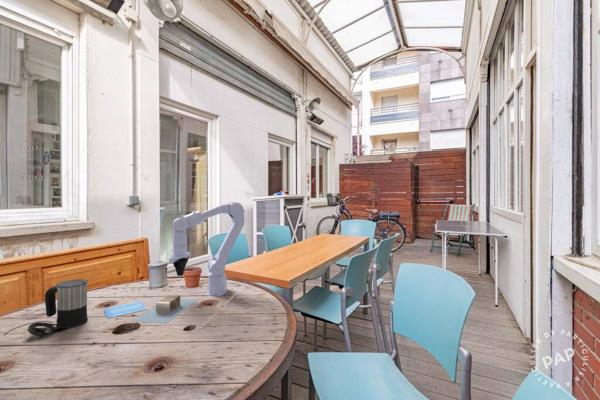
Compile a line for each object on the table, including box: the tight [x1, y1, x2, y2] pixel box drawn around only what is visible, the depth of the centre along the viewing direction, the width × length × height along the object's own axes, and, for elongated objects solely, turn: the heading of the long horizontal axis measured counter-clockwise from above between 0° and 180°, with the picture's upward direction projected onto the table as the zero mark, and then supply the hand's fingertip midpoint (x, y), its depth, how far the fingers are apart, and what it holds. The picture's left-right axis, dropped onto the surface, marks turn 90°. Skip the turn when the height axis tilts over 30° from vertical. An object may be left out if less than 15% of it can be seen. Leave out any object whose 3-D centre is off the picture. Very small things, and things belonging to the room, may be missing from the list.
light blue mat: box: [131, 298, 199, 324], centre depth 119 cm, size 24×14×1 cm, turn 173°
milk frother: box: [27, 278, 89, 338], centre depth 104 cm, size 14×16×15 cm
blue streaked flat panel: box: [103, 301, 148, 319], centre depth 119 cm, size 14×12×1 cm
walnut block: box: [155, 294, 181, 314], centre depth 119 cm, size 4×5×9 cm
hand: (180, 275), depth 132 cm, fingers closed
